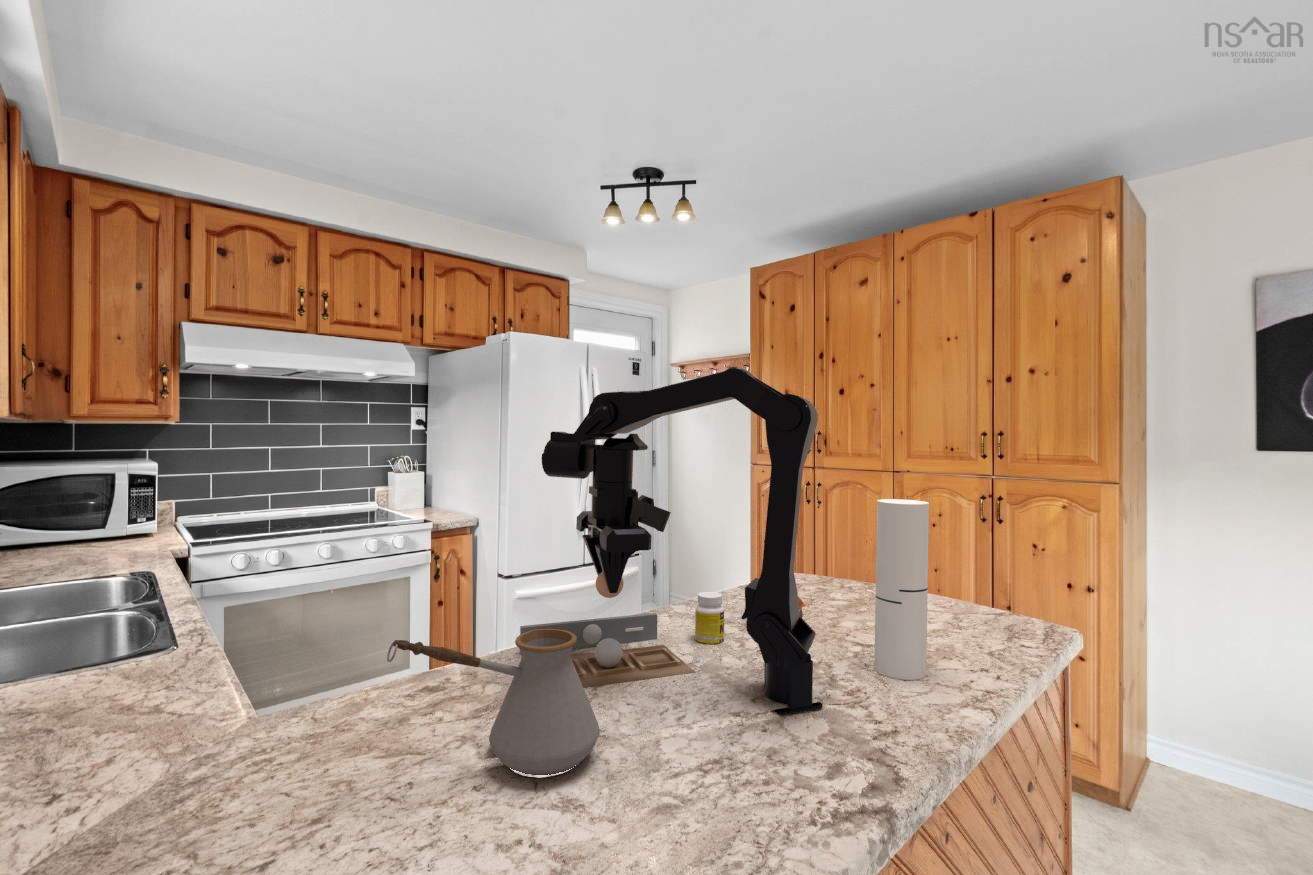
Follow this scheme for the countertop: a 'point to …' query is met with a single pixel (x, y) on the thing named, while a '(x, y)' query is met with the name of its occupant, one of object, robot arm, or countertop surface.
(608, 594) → the terracotta ball
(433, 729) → the countertop surface
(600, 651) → the grey ball
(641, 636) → the card
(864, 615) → the countertop surface
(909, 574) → the cylindrical container
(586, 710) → the coffee pot
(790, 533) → the robot arm
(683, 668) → the rack
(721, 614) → the supplement bottle
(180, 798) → the countertop surface
